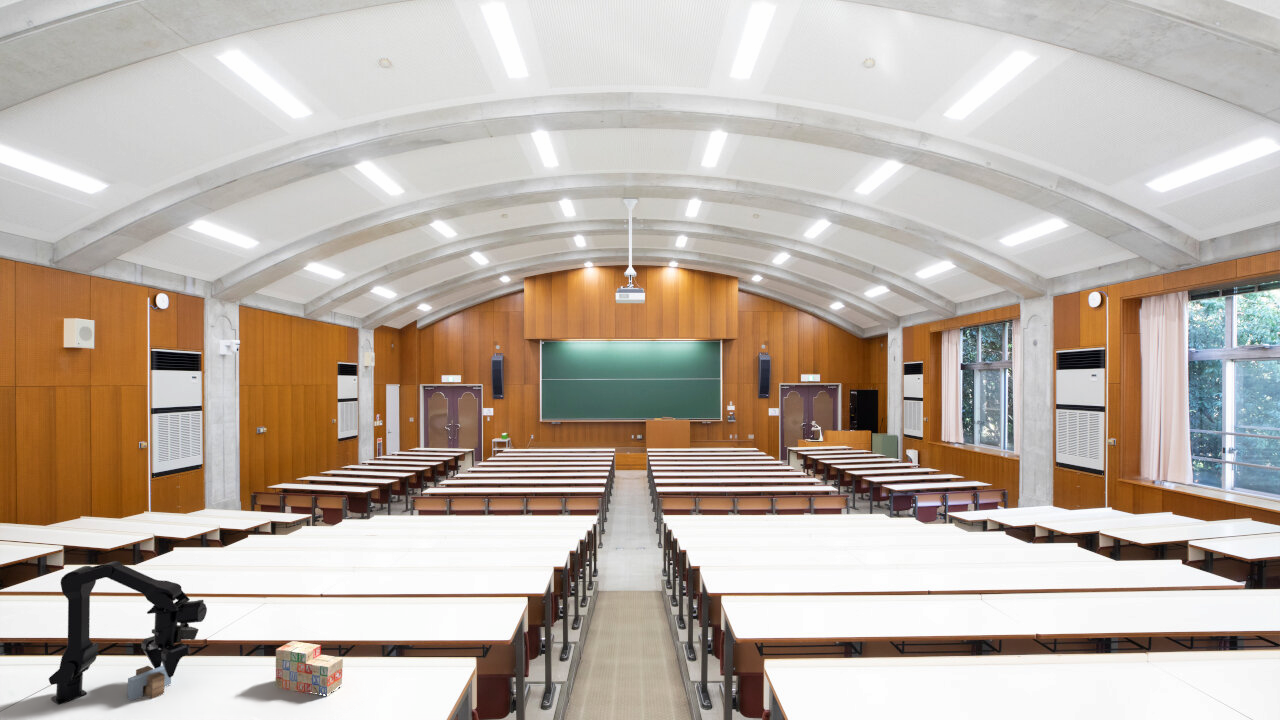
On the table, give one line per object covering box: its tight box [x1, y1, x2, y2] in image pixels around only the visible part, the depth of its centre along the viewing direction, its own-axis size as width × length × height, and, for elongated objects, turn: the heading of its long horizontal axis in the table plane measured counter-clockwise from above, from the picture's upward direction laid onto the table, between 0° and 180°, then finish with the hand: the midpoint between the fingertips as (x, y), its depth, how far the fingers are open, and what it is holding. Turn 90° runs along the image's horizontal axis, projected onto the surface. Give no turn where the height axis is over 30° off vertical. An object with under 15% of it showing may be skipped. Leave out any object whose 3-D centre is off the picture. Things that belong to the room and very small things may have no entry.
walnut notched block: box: [135, 665, 165, 699], centre depth 176 cm, size 12×3×6 cm, turn 62°
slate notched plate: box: [126, 665, 172, 701], centre depth 176 cm, size 10×3×6 cm, turn 152°
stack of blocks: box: [275, 640, 344, 695], centre depth 178 cm, size 21×6×12 cm, turn 74°
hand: (164, 673), depth 179 cm, fingers open, 9 cm apart
